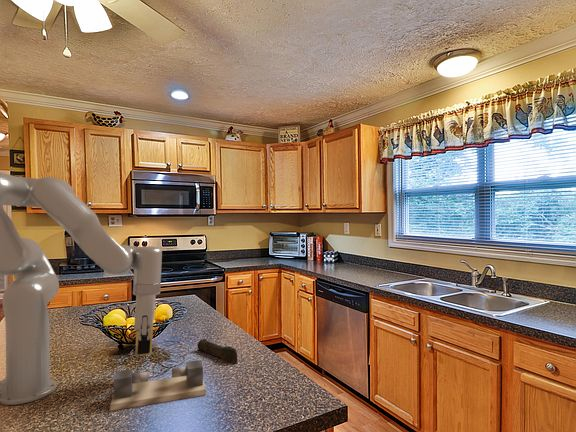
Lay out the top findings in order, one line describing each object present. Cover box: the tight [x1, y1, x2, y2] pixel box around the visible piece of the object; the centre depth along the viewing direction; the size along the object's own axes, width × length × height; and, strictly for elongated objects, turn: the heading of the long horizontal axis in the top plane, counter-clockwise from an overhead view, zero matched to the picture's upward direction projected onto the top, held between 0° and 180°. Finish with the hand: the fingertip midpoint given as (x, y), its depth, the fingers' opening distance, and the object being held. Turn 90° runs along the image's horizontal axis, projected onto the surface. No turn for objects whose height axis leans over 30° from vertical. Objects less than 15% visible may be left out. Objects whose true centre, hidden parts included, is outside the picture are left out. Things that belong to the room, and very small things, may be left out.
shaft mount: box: [109, 359, 207, 412], centre depth 95 cm, size 23×10×6 cm, turn 110°
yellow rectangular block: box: [134, 326, 154, 357], centre depth 104 cm, size 4×4×7 cm
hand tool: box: [197, 339, 238, 364], centre depth 120 cm, size 19×4×5 cm, turn 48°
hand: (144, 349), depth 104 cm, fingers closed on yellow rectangular block, 4 cm apart
